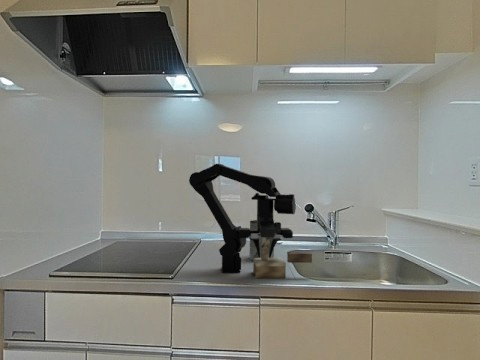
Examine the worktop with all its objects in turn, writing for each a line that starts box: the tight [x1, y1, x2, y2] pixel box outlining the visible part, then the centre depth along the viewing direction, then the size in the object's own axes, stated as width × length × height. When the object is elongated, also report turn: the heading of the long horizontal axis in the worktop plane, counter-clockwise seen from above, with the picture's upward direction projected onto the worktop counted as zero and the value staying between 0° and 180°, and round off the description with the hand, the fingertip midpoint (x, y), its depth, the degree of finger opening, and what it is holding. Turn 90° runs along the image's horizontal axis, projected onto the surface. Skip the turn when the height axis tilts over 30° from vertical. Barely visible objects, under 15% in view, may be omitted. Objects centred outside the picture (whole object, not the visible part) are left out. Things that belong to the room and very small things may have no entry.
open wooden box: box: [252, 260, 287, 279], centre depth 128 cm, size 10×8×4 cm
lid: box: [253, 248, 287, 267], centre depth 128 cm, size 10×8×5 cm
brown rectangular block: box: [286, 252, 313, 264], centre depth 126 cm, size 8×2×3 cm, turn 95°
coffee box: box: [249, 219, 275, 261], centre depth 153 cm, size 9×6×16 cm
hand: (264, 257), depth 129 cm, fingers open, 3 cm apart
